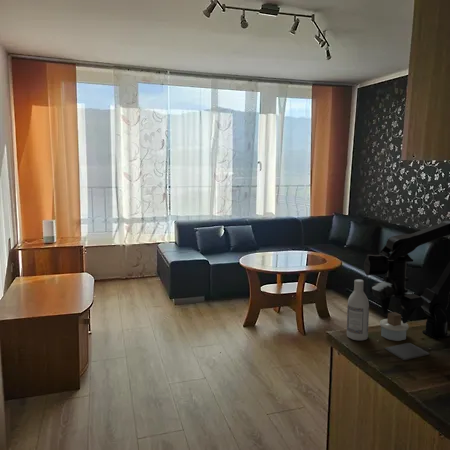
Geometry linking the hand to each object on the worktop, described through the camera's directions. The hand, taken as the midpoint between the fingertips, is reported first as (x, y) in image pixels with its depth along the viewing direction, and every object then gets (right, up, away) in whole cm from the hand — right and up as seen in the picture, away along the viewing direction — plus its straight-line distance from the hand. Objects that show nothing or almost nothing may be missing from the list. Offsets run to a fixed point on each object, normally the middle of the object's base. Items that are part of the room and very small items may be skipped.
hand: (394, 318), depth 138 cm
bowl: (0, -6, +1) cm, 6 cm away
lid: (0, -3, 0) cm, 3 cm away
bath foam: (-13, -7, +1) cm, 14 cm away
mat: (-1, -8, -11) cm, 14 cm away
